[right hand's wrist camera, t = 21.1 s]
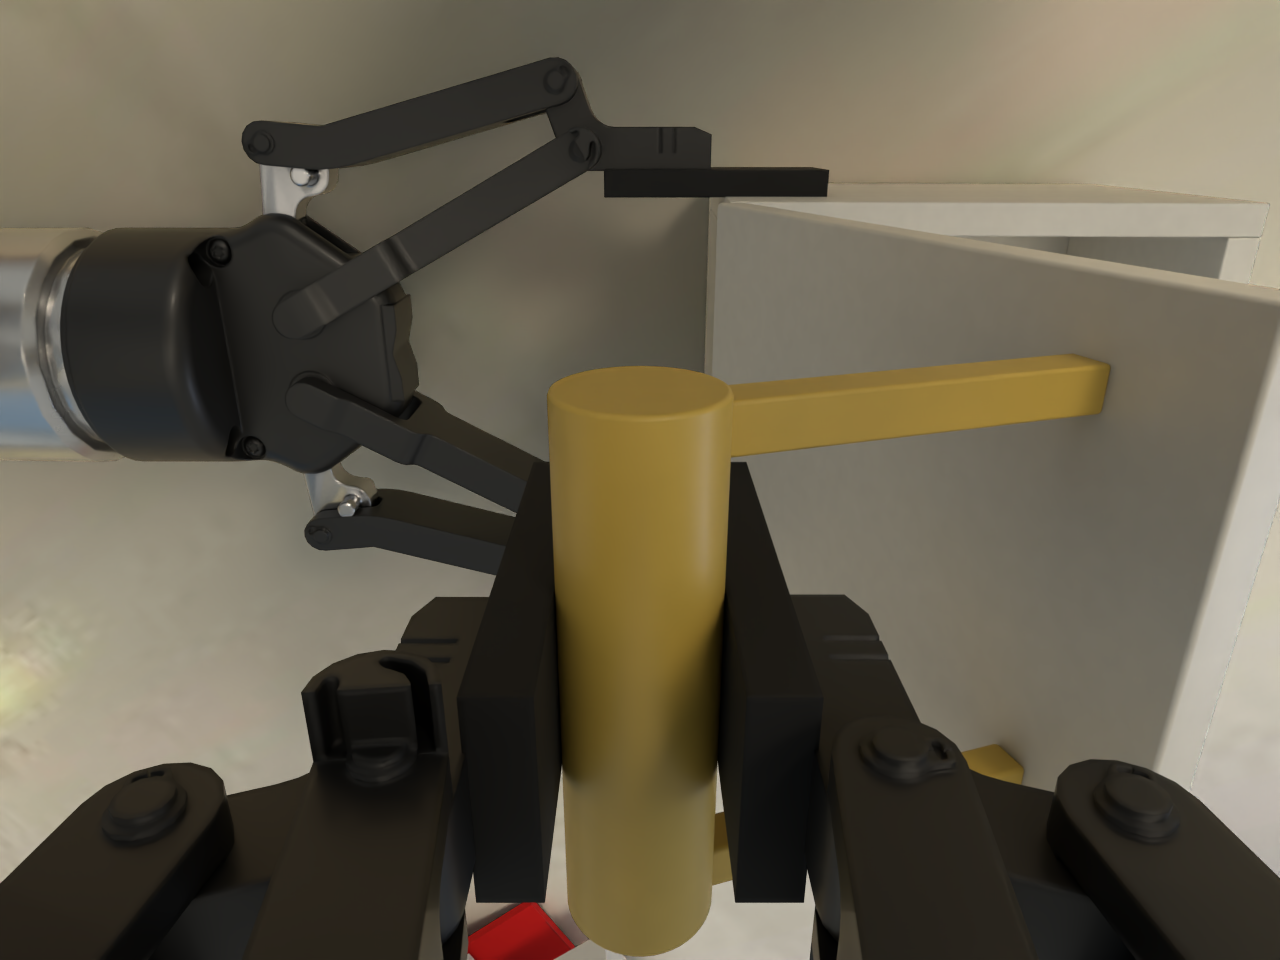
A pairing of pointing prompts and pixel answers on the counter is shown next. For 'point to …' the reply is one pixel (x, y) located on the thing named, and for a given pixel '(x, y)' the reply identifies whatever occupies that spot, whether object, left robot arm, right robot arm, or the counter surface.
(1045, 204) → the chest
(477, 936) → the toy
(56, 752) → the counter surface
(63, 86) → the counter surface
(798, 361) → the lid
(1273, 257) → the counter surface
